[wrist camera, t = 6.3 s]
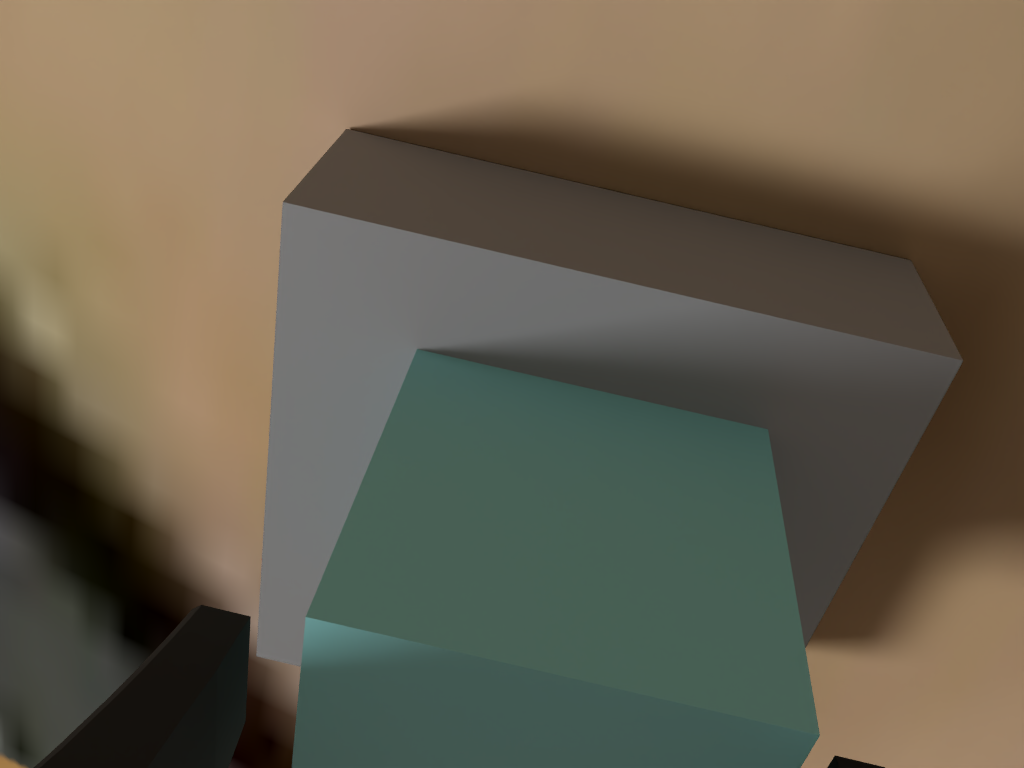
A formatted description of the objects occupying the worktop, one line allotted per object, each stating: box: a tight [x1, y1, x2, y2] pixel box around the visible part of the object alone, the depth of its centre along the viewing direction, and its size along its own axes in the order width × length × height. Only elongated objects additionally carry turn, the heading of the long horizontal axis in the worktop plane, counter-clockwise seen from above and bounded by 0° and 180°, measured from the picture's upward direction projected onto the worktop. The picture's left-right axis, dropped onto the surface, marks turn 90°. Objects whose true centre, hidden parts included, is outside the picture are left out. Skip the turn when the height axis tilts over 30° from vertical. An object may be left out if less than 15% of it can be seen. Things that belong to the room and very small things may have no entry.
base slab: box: [256, 129, 963, 666], centre depth 16 cm, size 9×9×3 cm
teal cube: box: [292, 349, 820, 768], centre depth 12 cm, size 5×5×5 cm
